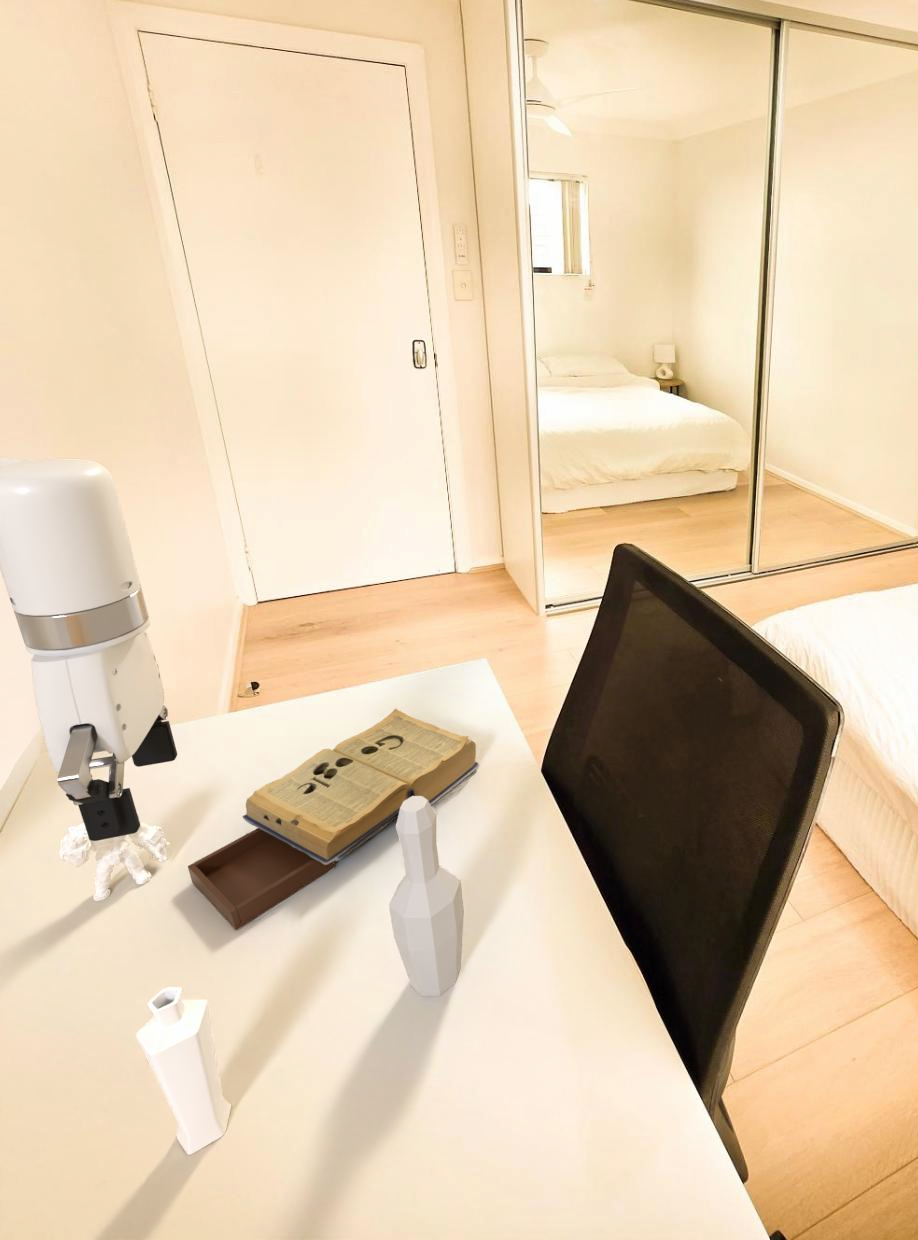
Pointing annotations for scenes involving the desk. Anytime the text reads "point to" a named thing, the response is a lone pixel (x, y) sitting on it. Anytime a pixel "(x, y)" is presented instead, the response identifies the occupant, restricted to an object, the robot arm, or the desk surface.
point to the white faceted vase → (186, 1066)
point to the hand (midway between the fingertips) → (137, 795)
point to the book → (360, 786)
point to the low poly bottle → (426, 904)
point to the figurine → (113, 853)
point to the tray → (253, 875)
